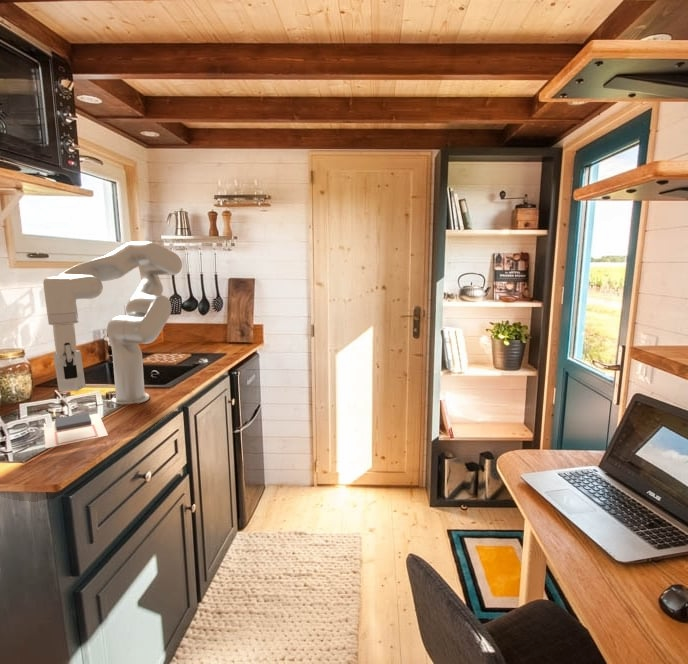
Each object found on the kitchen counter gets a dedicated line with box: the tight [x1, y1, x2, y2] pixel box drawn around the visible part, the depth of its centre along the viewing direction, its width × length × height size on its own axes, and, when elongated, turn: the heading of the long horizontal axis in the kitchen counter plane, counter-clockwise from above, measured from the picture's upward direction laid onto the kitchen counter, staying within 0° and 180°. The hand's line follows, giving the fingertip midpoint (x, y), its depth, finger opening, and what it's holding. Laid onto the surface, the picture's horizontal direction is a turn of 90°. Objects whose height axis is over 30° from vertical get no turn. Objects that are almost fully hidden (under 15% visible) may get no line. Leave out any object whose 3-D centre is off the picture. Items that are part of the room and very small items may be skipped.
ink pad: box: [54, 412, 91, 431], centre depth 130 cm, size 8×9×1 cm
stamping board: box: [43, 413, 109, 449], centre depth 126 cm, size 21×15×1 cm
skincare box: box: [52, 349, 86, 392], centre depth 127 cm, size 6×4×12 cm
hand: (70, 374), depth 128 cm, fingers closed on skincare box, 6 cm apart
